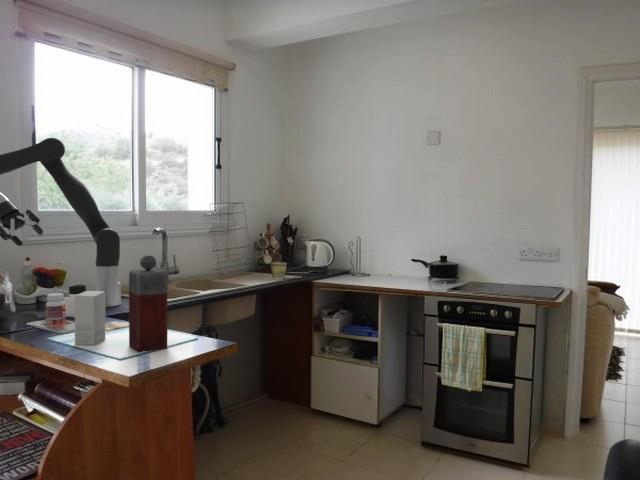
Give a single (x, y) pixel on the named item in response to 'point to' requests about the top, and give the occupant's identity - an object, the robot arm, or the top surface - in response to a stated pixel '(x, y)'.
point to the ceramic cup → (278, 269)
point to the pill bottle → (55, 310)
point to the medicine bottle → (73, 299)
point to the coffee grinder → (147, 307)
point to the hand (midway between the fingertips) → (31, 239)
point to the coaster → (115, 325)
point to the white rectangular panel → (58, 329)
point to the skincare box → (89, 317)
